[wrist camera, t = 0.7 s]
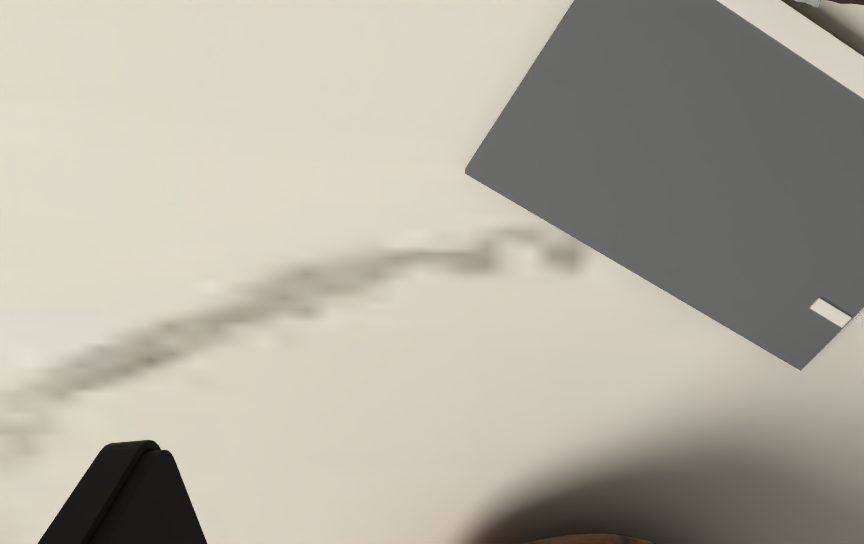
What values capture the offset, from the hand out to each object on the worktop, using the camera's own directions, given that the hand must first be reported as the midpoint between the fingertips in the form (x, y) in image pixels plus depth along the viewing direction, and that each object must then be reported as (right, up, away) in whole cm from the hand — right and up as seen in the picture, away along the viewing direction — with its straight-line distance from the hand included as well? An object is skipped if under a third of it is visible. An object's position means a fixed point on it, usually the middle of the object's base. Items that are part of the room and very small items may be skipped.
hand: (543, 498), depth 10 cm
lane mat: (+11, +7, +24) cm, 27 cm away
